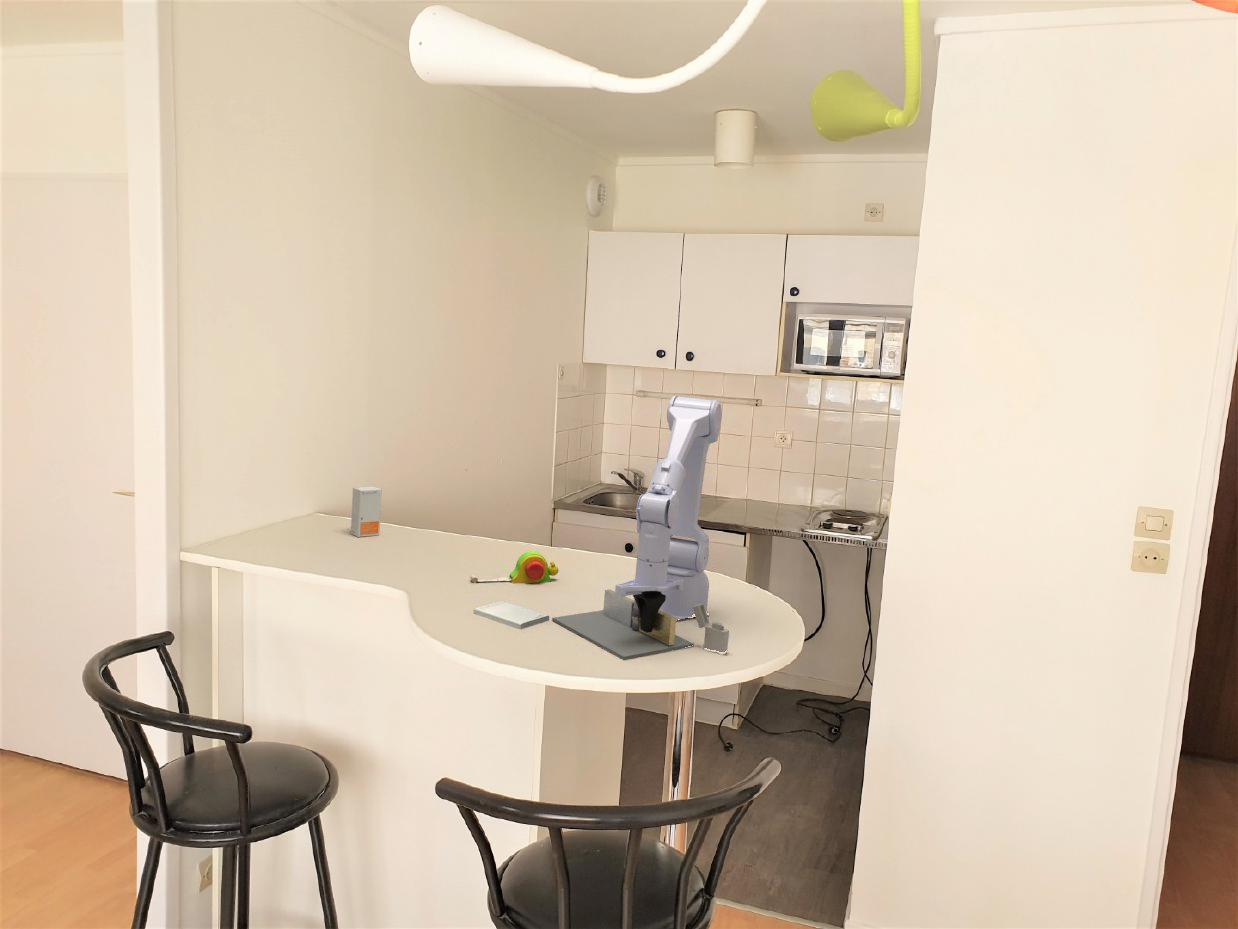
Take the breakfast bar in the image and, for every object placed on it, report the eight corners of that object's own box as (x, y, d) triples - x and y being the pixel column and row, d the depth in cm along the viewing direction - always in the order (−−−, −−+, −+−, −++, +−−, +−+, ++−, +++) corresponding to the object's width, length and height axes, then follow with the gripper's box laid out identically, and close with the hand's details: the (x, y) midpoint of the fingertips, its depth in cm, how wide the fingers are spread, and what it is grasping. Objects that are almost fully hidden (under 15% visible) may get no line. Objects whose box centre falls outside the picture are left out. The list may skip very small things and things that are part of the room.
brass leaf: (629, 627, 176) (631, 600, 176) (638, 626, 178) (640, 599, 177) (667, 645, 168) (669, 617, 167) (675, 644, 169) (678, 616, 168)
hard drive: (549, 615, 180) (503, 599, 187) (520, 624, 173) (473, 607, 180) (549, 623, 180) (502, 607, 187) (520, 632, 173) (472, 616, 181)
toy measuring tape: (561, 584, 205) (563, 555, 204) (473, 586, 199) (474, 556, 198) (554, 576, 211) (555, 548, 210) (468, 578, 205) (469, 549, 204)
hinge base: (618, 610, 189) (620, 583, 188) (693, 646, 171) (695, 617, 170) (552, 620, 180) (554, 592, 179) (623, 660, 162) (626, 629, 161)
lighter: (727, 652, 169) (731, 610, 168) (722, 655, 168) (726, 612, 167) (694, 642, 173) (697, 601, 172) (689, 645, 172) (692, 603, 171)
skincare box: (357, 537, 232) (359, 490, 230) (350, 534, 235) (352, 487, 233) (380, 535, 236) (382, 489, 234) (372, 531, 239) (374, 486, 237)
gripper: (634, 567, 162) (628, 642, 164) (697, 560, 171) (690, 632, 172) (610, 557, 167) (604, 630, 169) (672, 552, 176) (666, 621, 178)
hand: (646, 630), depth 171 cm, fingers closed
